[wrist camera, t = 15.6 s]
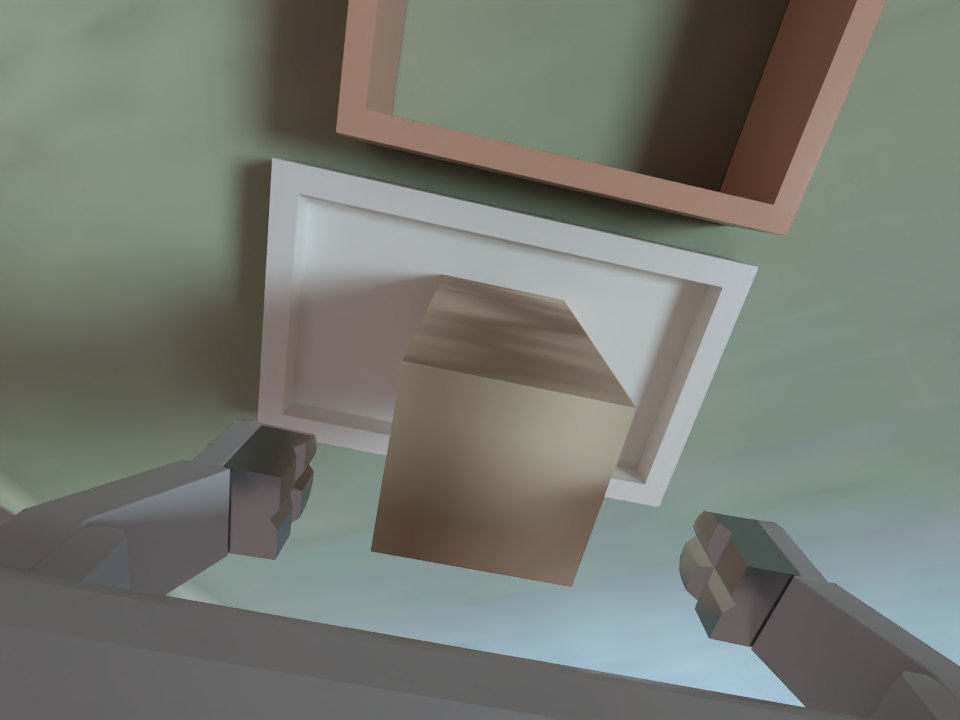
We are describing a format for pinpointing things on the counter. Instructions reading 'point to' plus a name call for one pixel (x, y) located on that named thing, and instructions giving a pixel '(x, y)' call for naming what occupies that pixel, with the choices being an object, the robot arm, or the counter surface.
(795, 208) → the terracotta square frame
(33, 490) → the counter surface
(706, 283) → the white tray
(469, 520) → the maple block
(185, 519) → the robot arm
